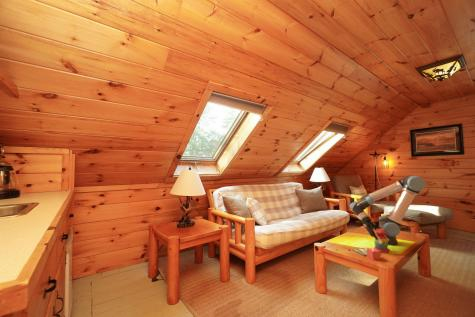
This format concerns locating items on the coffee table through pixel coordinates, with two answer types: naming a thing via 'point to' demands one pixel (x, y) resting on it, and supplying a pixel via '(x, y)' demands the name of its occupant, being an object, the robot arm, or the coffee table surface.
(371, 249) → the red die
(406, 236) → the coffee table surface
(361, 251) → the game track
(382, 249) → the stacking bear
